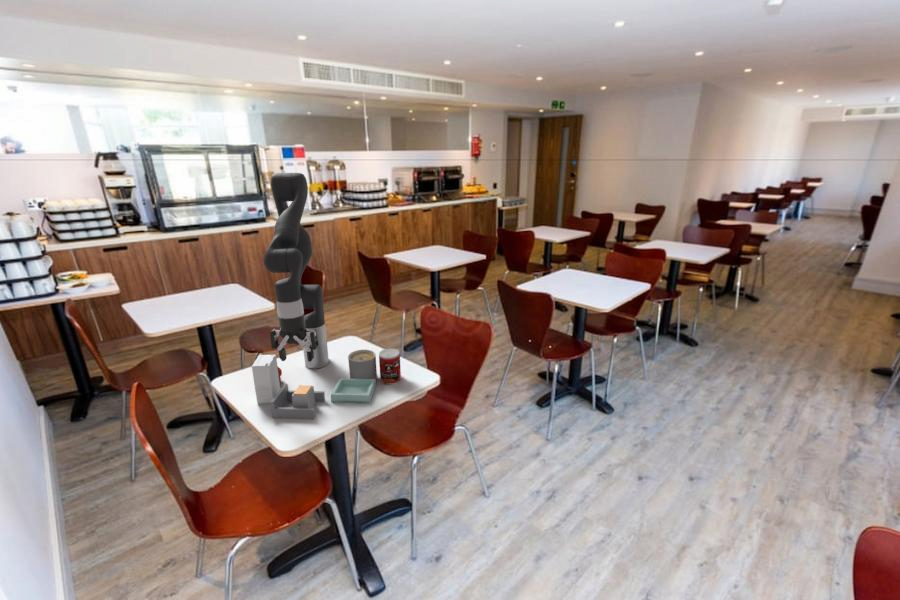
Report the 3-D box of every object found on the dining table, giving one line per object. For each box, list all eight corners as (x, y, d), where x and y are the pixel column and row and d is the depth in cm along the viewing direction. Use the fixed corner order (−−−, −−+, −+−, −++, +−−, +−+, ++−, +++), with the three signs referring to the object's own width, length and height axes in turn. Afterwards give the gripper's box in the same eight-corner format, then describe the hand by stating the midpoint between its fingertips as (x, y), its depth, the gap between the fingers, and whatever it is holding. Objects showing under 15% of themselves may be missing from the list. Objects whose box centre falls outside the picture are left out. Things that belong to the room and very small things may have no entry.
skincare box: (264, 391, 150) (258, 354, 145) (281, 390, 150) (276, 353, 145) (256, 404, 142) (250, 365, 137) (275, 403, 142) (269, 364, 138)
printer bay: (286, 399, 145) (284, 384, 143) (325, 400, 145) (323, 384, 143) (272, 418, 135) (270, 401, 133) (314, 419, 134) (312, 403, 132)
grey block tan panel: (301, 403, 142) (298, 384, 140) (315, 404, 142) (313, 384, 140) (294, 414, 137) (291, 394, 134) (309, 414, 137) (306, 394, 134)
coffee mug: (380, 382, 156) (378, 358, 153) (353, 388, 152) (351, 363, 149) (370, 366, 168) (368, 344, 164) (345, 372, 163) (343, 348, 160)
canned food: (379, 384, 155) (377, 357, 151) (381, 374, 162) (380, 348, 158) (399, 384, 155) (398, 357, 151) (401, 373, 162) (400, 348, 159)
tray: (340, 385, 154) (340, 378, 153) (375, 386, 153) (375, 379, 152) (331, 402, 143) (330, 394, 143) (369, 403, 143) (368, 395, 142)
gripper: (318, 309, 131) (323, 355, 137) (273, 308, 132) (280, 354, 137) (309, 318, 124) (314, 366, 130) (262, 317, 125) (269, 365, 130)
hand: (297, 360), depth 133 cm, fingers open, 8 cm apart
